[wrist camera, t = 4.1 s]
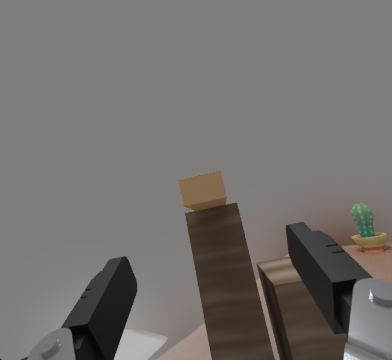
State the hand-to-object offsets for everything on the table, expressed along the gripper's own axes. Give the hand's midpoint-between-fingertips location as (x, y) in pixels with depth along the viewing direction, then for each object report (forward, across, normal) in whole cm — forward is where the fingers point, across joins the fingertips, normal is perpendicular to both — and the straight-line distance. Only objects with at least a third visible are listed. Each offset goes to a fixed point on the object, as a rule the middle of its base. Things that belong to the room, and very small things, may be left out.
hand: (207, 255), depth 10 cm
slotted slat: (+19, 0, -7) cm, 20 cm away
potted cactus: (+86, +75, -82) cm, 141 cm away
